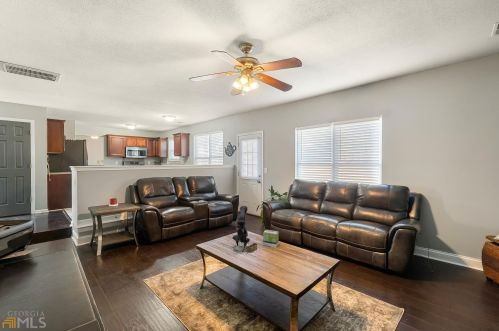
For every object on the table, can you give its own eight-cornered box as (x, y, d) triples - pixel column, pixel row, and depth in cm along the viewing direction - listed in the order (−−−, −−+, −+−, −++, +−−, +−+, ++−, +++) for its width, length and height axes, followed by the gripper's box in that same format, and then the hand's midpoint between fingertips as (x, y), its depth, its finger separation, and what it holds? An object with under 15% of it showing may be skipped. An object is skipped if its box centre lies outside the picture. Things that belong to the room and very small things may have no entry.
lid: (240, 251, 226) (240, 248, 226) (235, 249, 230) (235, 246, 230) (246, 247, 234) (246, 245, 234) (241, 246, 238) (241, 244, 238)
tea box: (262, 245, 242) (262, 231, 242) (265, 242, 252) (265, 229, 251) (276, 247, 237) (276, 233, 236) (278, 244, 246) (278, 231, 246)
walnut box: (250, 253, 222) (250, 247, 222) (246, 251, 225) (246, 245, 225) (257, 249, 232) (257, 243, 232) (253, 248, 235) (253, 242, 235)
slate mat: (233, 249, 230) (233, 249, 230) (241, 246, 240) (241, 245, 240) (240, 252, 224) (240, 251, 224) (248, 248, 235) (248, 247, 234)
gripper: (229, 232, 231) (229, 247, 231) (243, 236, 219) (243, 251, 220) (236, 229, 240) (236, 243, 240) (250, 233, 228) (250, 248, 229)
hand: (241, 246), depth 232 cm, fingers open, 9 cm apart
